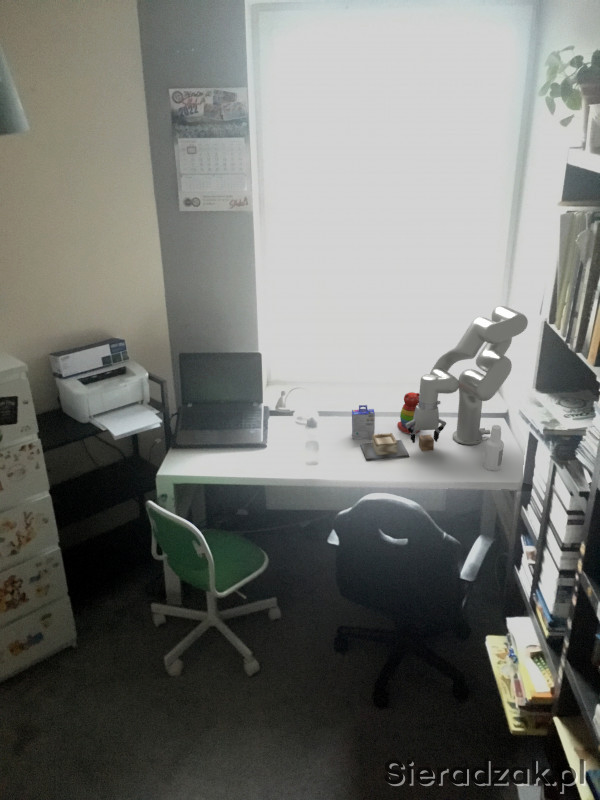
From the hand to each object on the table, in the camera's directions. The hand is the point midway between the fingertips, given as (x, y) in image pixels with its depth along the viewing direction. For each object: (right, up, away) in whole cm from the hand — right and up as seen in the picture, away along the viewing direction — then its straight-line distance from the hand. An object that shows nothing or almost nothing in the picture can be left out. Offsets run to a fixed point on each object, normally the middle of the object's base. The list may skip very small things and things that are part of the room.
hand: (424, 440), depth 270 cm
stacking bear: (-3, +4, +18) cm, 19 cm away
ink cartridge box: (-24, +1, +13) cm, 28 cm away
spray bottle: (+25, -10, -13) cm, 30 cm away
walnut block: (+1, -3, +2) cm, 4 cm away
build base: (-17, -4, +1) cm, 17 cm away
